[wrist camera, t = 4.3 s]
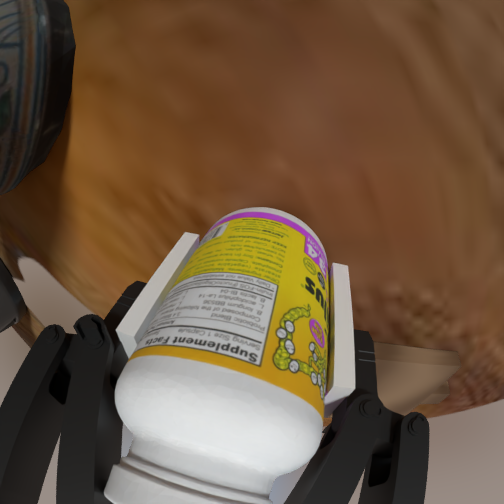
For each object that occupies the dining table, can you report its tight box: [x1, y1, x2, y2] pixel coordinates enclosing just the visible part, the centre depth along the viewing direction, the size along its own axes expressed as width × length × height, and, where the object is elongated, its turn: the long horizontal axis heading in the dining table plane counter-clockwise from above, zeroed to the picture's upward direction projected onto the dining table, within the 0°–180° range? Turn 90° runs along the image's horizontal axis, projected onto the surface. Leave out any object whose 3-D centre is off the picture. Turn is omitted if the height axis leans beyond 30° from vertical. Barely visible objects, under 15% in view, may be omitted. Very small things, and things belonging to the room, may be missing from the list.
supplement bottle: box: [104, 207, 329, 504], centre depth 10 cm, size 7×7×13 cm
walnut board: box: [329, 342, 461, 418], centre depth 20 cm, size 19×11×2 cm, turn 83°
